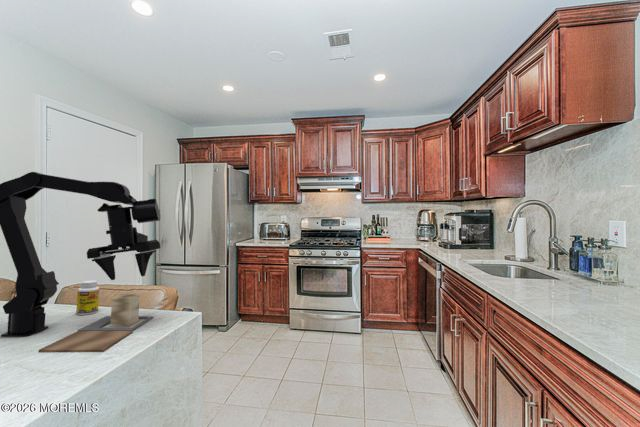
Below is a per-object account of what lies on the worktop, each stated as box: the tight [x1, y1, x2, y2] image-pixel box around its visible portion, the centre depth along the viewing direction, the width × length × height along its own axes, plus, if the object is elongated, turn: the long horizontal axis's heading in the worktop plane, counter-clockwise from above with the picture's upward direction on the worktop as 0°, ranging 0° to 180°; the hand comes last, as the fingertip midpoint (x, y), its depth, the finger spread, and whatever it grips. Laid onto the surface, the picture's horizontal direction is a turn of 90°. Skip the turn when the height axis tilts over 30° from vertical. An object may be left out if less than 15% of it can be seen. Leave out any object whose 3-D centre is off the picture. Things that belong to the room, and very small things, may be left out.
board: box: [37, 330, 134, 353], centre depth 72 cm, size 14×12×1 cm
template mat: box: [77, 315, 154, 332], centre depth 85 cm, size 14×12×1 cm
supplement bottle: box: [76, 280, 100, 316], centre depth 95 cm, size 6×6×10 cm
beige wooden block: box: [109, 293, 141, 328], centre depth 85 cm, size 5×5×8 cm
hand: (128, 278), depth 85 cm, fingers open, 9 cm apart
